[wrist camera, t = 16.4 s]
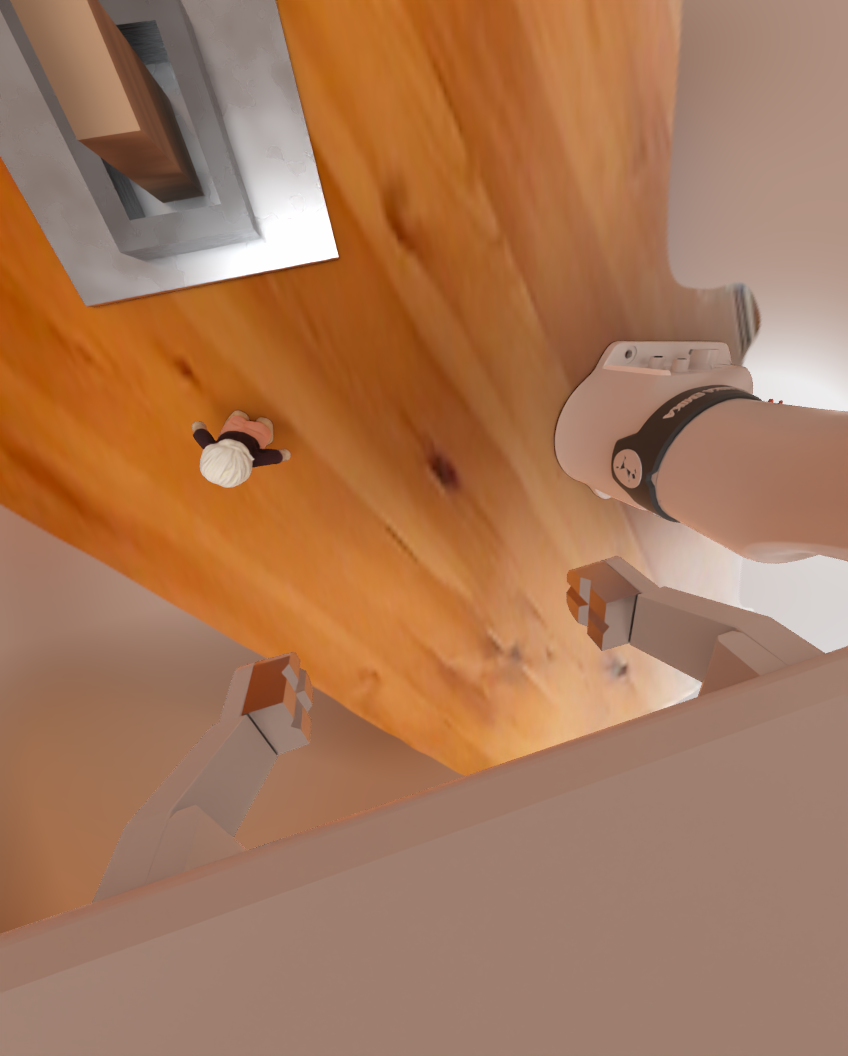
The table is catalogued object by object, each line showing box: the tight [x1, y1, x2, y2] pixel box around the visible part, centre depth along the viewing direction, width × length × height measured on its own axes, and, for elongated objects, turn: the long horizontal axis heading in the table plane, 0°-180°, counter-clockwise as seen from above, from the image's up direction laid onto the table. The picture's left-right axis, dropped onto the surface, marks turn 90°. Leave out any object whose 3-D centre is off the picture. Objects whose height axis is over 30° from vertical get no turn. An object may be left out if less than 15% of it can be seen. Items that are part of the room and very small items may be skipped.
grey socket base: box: [0, 0, 338, 307], centre depth 24 cm, size 20×15×5 cm
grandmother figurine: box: [192, 410, 291, 488], centre depth 30 cm, size 8×4×13 cm, turn 79°
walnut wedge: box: [10, 0, 205, 203], centre depth 21 cm, size 3×5×10 cm, turn 10°
